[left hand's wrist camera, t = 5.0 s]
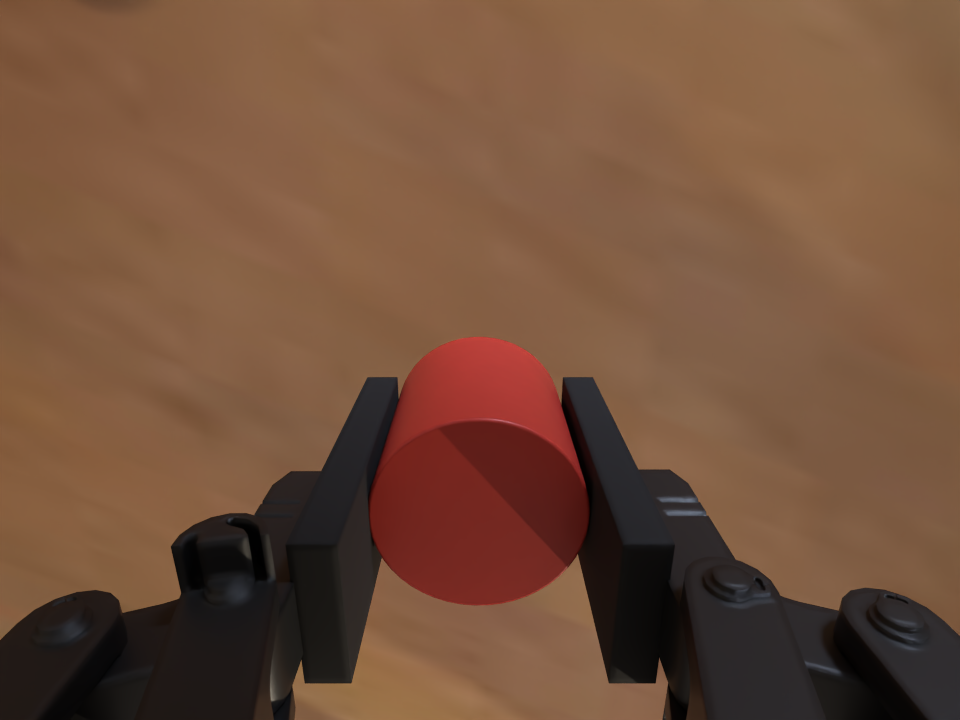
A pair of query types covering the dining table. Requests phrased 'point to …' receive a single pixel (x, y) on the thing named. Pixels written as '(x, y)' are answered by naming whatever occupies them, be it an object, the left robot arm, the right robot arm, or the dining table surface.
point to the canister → (478, 477)
